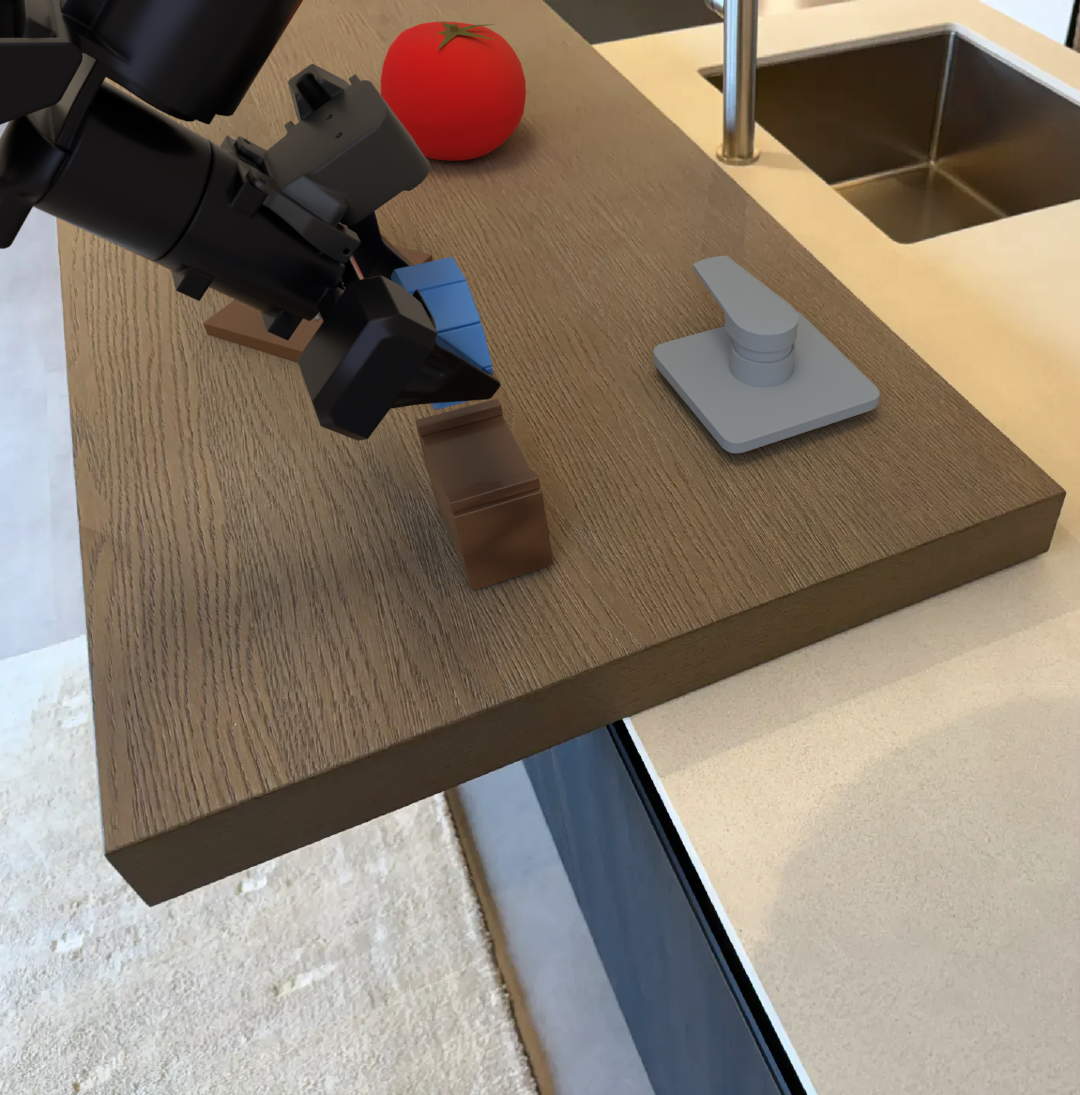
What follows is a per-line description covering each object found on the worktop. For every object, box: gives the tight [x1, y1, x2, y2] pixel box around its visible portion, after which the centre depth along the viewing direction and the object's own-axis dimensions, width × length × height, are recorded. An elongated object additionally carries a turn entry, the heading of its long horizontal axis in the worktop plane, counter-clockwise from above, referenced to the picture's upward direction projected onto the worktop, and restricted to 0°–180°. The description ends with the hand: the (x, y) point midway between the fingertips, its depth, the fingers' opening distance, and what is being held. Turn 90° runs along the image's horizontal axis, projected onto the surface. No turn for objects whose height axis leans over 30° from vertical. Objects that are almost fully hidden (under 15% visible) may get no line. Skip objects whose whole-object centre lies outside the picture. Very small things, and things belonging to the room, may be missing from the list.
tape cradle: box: [414, 398, 554, 591], centre depth 61 cm, size 5×8×7 cm, turn 25°
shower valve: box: [652, 255, 881, 454], centre depth 73 cm, size 12×6×15 cm
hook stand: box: [202, 244, 434, 363], centre depth 77 cm, size 15×10×11 cm, turn 158°
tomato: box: [380, 21, 527, 162], centre depth 95 cm, size 12×14×11 cm
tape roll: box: [391, 256, 494, 410], centre depth 54 cm, size 3×8×7 cm, turn 27°
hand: (472, 350), depth 55 cm, fingers closed on tape roll, 7 cm apart
